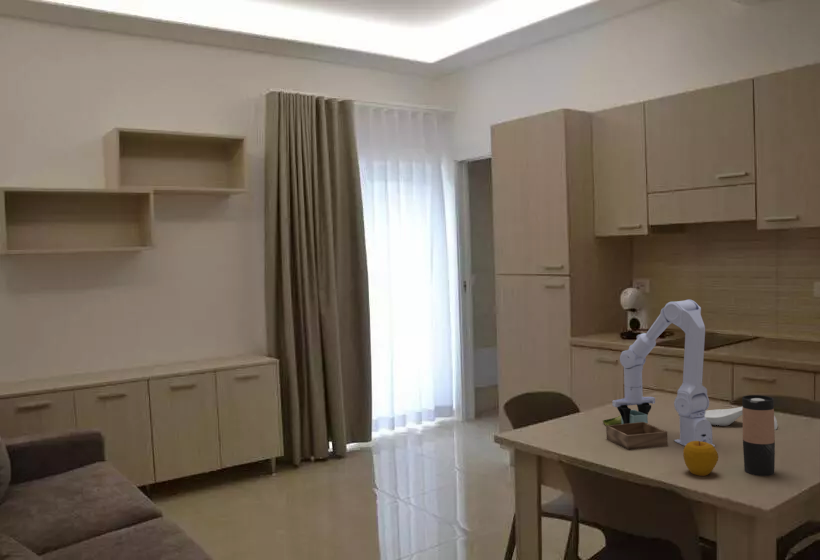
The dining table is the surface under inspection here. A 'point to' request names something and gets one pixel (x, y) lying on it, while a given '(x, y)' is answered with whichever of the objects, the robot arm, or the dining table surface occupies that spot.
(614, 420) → the fennel bulb
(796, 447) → the dining table surface
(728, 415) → the spoon rest
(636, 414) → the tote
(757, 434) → the travel mug
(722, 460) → the dining table surface
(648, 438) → the crate
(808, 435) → the dining table surface
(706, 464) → the apple
